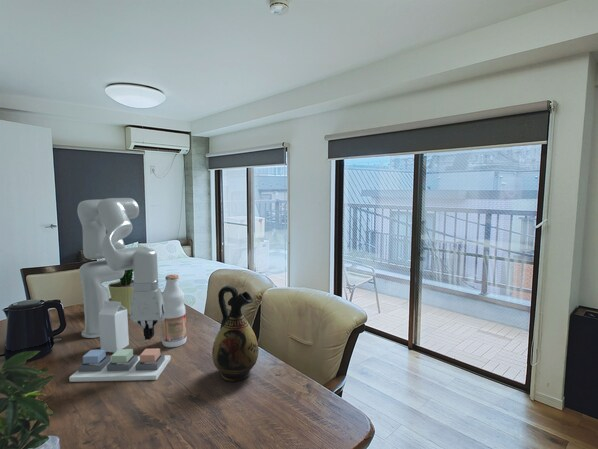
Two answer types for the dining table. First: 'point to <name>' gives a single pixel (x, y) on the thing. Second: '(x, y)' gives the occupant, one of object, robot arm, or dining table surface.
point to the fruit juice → (173, 314)
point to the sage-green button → (122, 356)
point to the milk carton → (113, 327)
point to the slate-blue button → (94, 356)
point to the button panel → (120, 370)
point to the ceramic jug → (234, 338)
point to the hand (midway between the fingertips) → (149, 337)
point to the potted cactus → (122, 290)
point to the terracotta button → (150, 355)
